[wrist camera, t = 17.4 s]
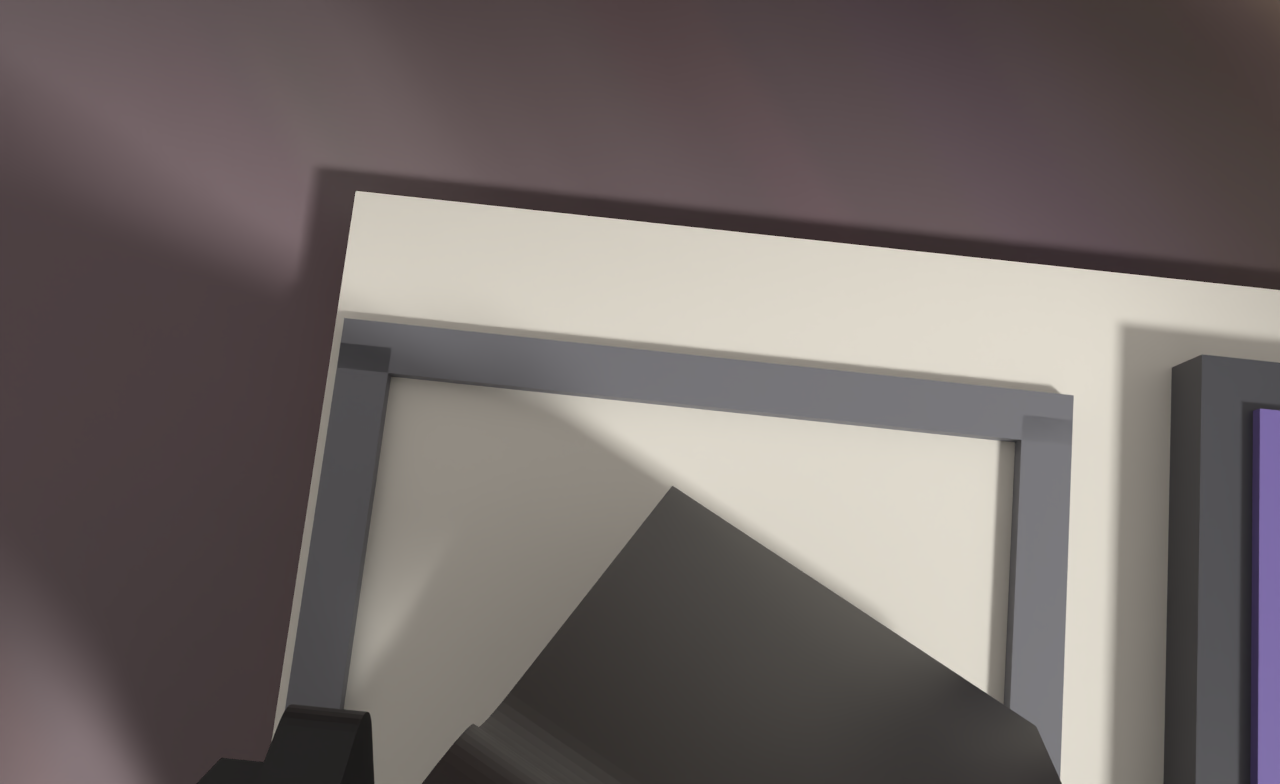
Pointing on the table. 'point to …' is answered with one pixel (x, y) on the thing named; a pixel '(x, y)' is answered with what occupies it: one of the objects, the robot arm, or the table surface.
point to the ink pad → (1223, 574)
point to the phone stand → (736, 683)
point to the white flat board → (758, 453)
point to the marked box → (700, 385)
